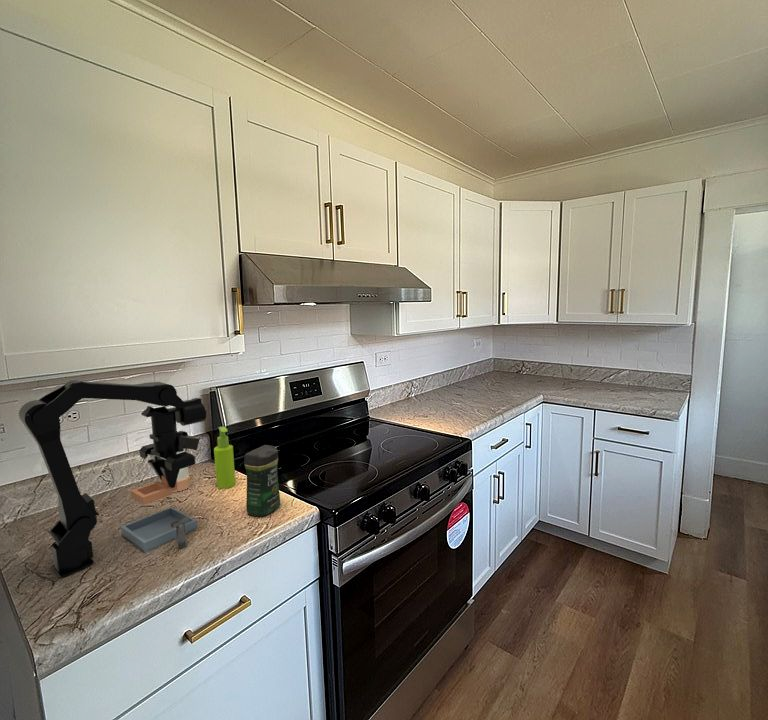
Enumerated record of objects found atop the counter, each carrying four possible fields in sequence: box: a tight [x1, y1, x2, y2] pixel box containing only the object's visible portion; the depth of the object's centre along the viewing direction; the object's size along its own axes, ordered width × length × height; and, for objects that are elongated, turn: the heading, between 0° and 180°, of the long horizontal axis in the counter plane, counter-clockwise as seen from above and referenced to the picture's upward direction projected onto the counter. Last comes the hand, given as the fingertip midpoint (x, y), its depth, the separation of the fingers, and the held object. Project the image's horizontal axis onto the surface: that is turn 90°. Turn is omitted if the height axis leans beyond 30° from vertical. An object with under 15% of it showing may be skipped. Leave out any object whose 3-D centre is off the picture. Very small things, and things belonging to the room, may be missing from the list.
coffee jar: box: [243, 444, 281, 517], centre depth 122 cm, size 10×8×19 cm
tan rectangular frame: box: [130, 475, 177, 506], centre depth 110 cm, size 10×7×4 cm
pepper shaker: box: [172, 449, 191, 493], centre depth 138 cm, size 7×7×19 cm
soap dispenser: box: [213, 426, 236, 490], centre depth 139 cm, size 6×7×20 cm
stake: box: [171, 517, 189, 549], centre depth 104 cm, size 4×2×7 cm, turn 143°
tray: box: [120, 506, 199, 553], centre depth 112 cm, size 13×13×2 cm
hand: (169, 486), depth 113 cm, fingers closed on tan rectangular frame, 3 cm apart
